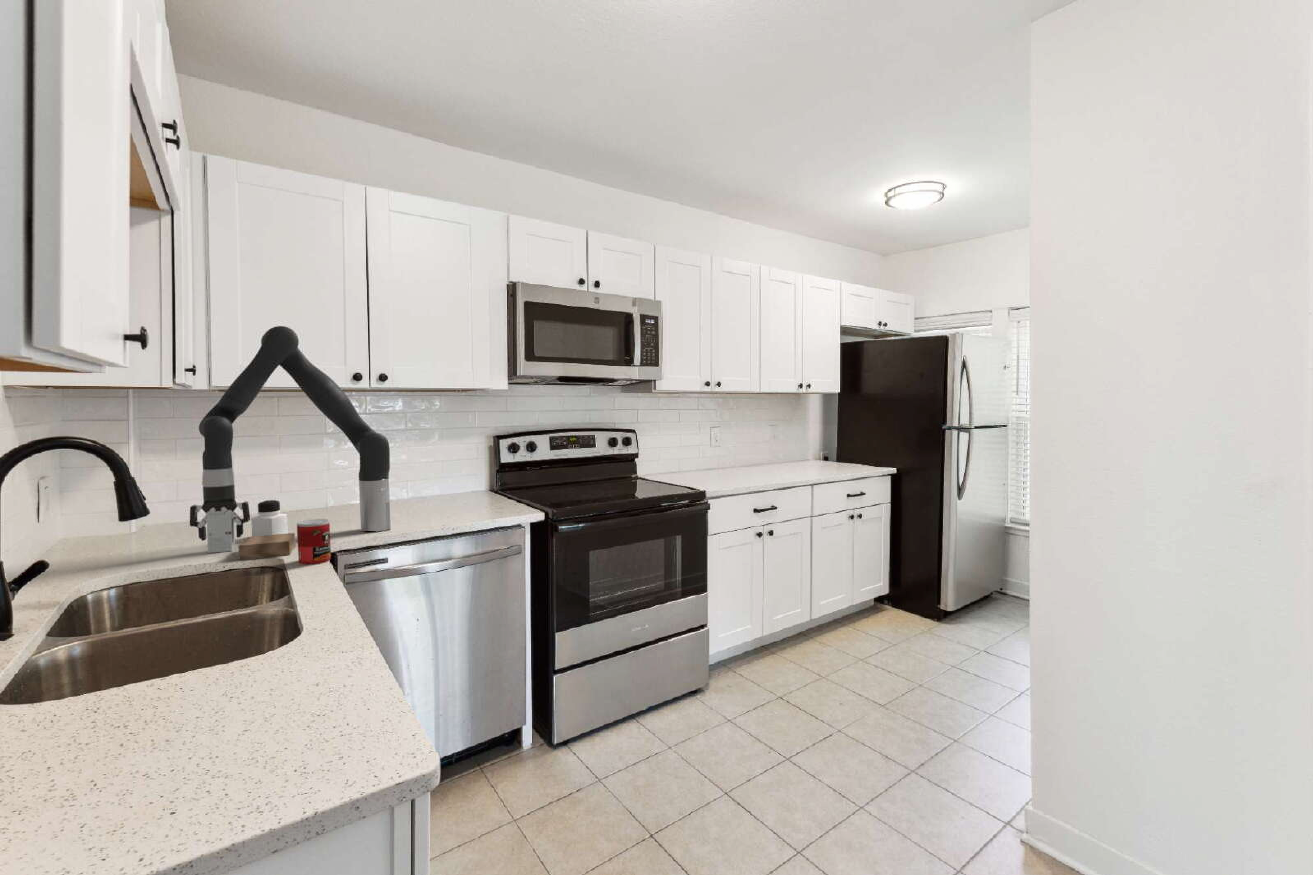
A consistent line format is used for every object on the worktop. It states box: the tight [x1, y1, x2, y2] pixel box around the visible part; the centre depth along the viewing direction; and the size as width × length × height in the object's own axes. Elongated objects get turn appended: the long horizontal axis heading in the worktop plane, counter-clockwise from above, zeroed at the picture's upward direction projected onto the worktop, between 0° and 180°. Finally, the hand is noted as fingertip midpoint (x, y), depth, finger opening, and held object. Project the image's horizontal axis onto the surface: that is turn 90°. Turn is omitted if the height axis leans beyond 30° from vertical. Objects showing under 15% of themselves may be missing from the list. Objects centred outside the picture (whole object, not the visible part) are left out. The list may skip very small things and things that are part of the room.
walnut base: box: [238, 532, 296, 561], centre depth 174 cm, size 12×12×4 cm
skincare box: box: [206, 510, 236, 554], centre depth 177 cm, size 6×4×12 cm
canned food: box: [296, 518, 332, 566], centre depth 164 cm, size 8×8×11 cm
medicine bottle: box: [250, 499, 289, 537], centre depth 194 cm, size 7×7×12 cm
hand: (221, 538), depth 177 cm, fingers open, 8 cm apart
